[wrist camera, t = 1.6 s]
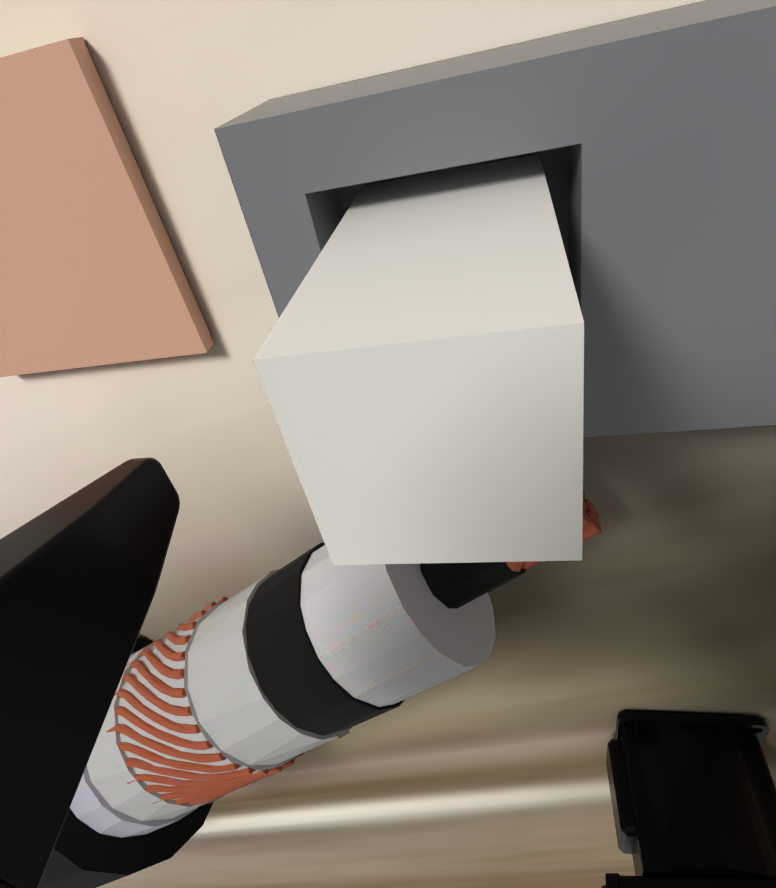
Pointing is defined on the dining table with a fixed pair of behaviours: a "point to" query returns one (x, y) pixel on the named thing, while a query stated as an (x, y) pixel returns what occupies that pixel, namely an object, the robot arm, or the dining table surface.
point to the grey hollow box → (576, 191)
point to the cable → (266, 694)
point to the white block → (438, 374)
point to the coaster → (80, 228)
